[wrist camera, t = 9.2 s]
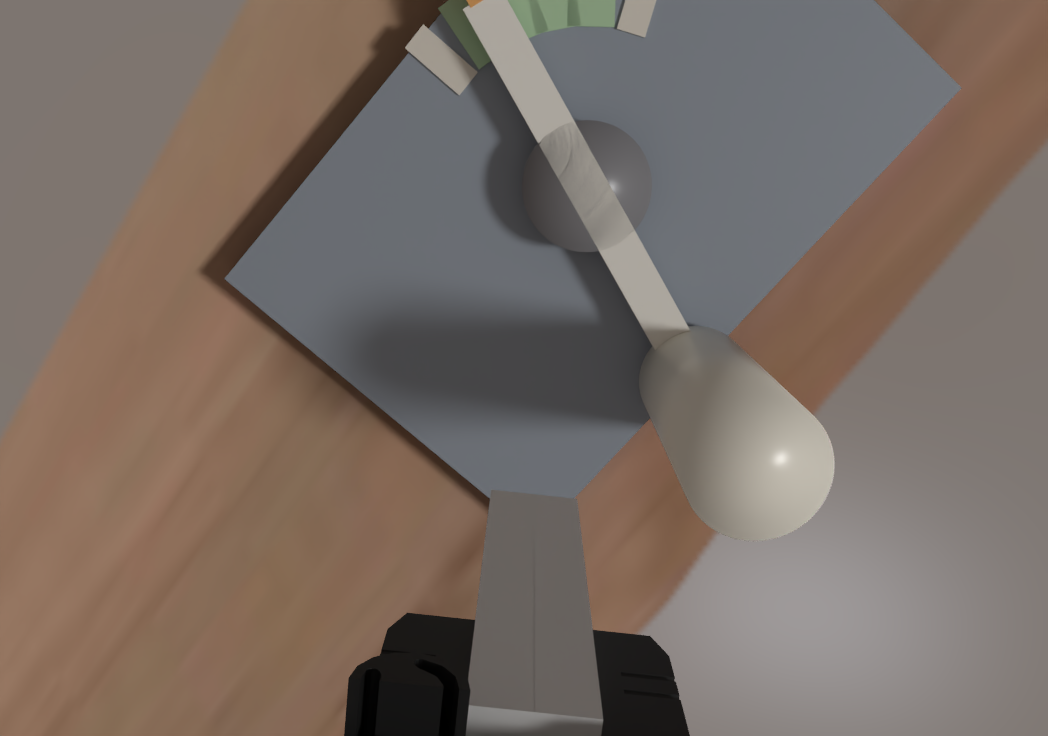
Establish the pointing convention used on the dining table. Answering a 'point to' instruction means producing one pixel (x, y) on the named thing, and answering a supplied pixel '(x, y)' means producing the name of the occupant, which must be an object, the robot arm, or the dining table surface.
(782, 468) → the needle
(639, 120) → the dial plate
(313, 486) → the dining table surface
